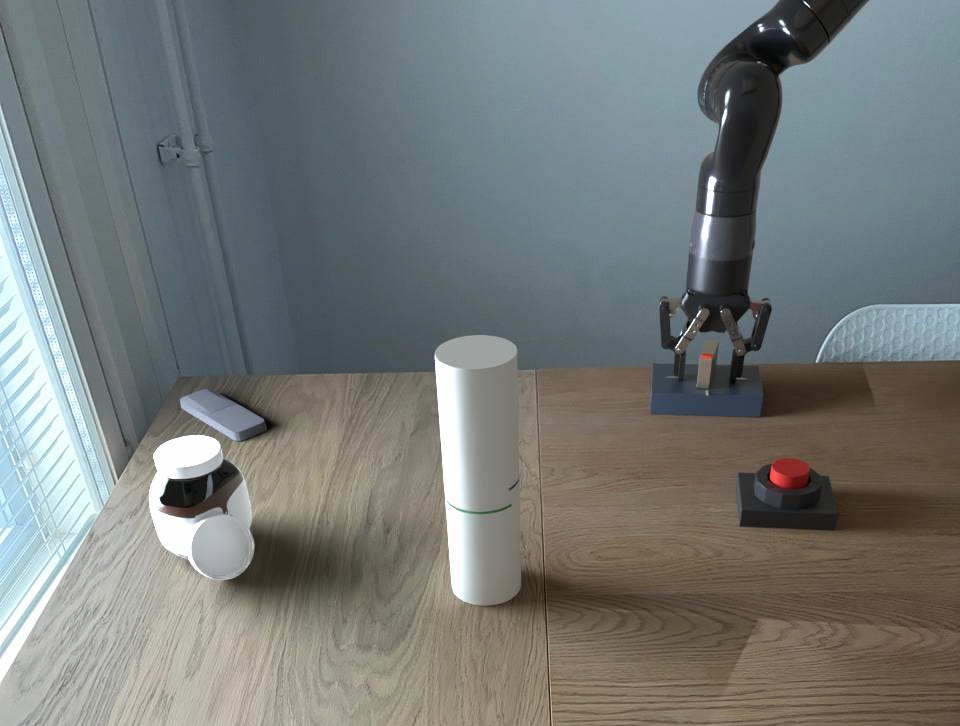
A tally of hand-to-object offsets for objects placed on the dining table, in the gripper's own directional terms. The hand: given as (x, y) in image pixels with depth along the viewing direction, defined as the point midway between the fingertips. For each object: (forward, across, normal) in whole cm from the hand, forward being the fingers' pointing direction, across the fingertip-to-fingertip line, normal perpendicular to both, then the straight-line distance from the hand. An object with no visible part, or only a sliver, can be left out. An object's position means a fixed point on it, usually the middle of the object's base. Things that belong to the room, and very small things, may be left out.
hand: (706, 378), depth 128 cm
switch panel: (+3, 0, 0) cm, 3 cm away
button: (0, -8, +26) cm, 27 cm away
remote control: (+3, +64, +10) cm, 64 cm away
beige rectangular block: (0, 0, 0) cm, 0 cm away
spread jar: (+4, +53, +40) cm, 67 cm away
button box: (+3, -8, +26) cm, 28 cm away
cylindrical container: (+4, +23, +43) cm, 49 cm away
